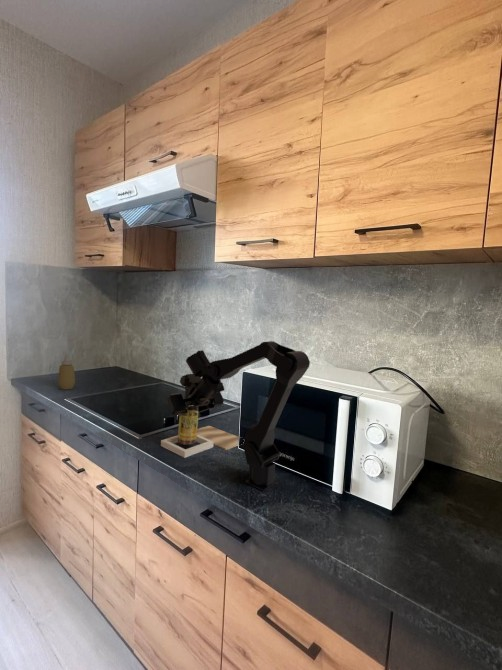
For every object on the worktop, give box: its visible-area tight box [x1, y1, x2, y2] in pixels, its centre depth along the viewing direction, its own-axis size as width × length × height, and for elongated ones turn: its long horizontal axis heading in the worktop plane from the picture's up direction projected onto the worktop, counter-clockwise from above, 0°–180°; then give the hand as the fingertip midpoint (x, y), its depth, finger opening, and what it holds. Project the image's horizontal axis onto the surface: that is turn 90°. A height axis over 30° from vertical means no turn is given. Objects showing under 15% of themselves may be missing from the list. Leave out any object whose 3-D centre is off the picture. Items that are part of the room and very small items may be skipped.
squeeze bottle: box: [57, 353, 76, 390], centre depth 185 cm, size 8×8×18 cm
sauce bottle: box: [177, 386, 199, 446], centre depth 120 cm, size 7×6×20 cm
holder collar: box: [160, 434, 214, 459], centre depth 121 cm, size 12×12×2 cm
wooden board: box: [197, 425, 240, 451], centre depth 131 cm, size 20×11×1 cm, turn 50°
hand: (186, 413), depth 121 cm, fingers closed on sauce bottle, 6 cm apart
